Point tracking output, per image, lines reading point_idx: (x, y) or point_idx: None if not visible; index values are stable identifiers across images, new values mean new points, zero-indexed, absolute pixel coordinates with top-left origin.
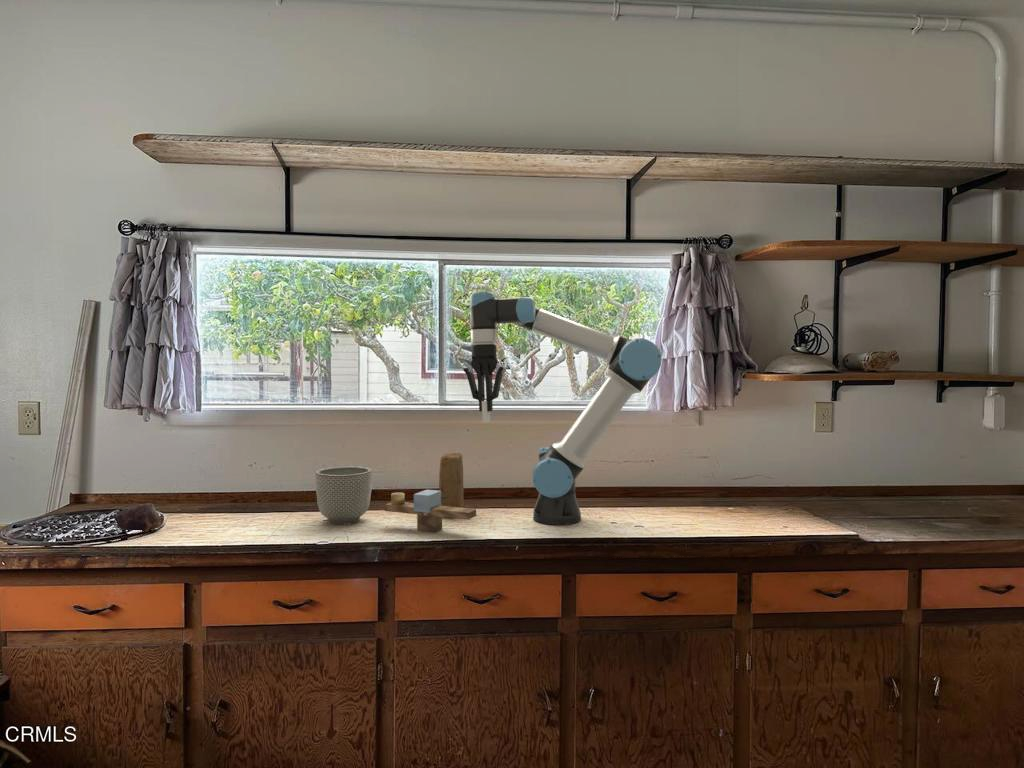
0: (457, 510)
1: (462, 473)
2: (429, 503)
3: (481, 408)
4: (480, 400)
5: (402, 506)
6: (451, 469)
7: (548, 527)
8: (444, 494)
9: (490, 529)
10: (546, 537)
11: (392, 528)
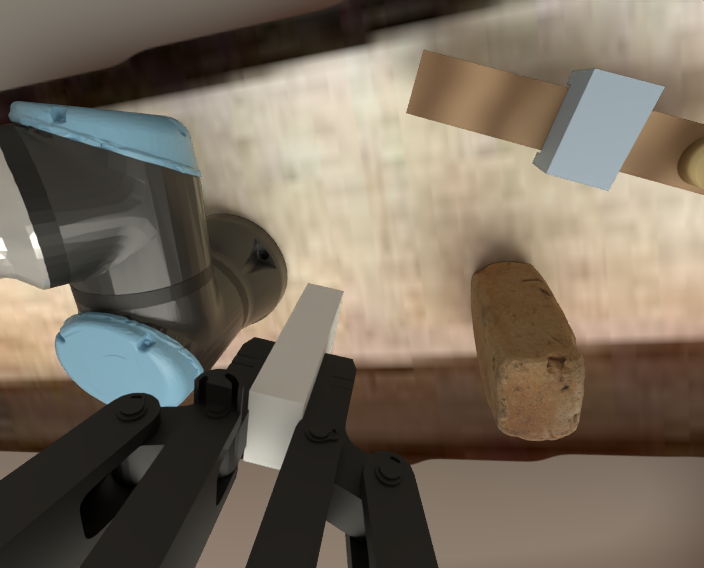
0: (467, 80)
1: (484, 368)
2: (580, 76)
3: (331, 372)
4: (318, 419)
5: (685, 119)
6: (526, 329)
7: (236, 192)
8: (533, 285)
9: (375, 153)
10: (220, 91)
11: None
